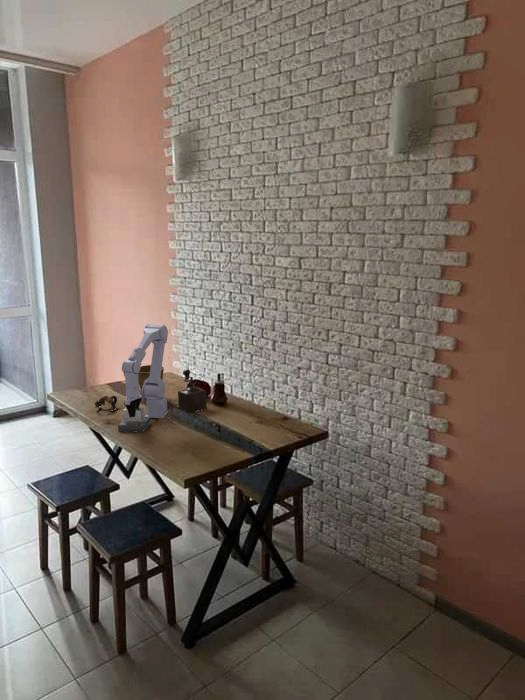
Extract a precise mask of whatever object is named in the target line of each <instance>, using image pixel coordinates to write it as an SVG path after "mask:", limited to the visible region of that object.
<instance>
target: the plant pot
mask: <svg viewBox="0 0 525 700" xmlns="http://www.w3.org/2000/svg"><path fill="white" fill-rule="evenodd" d="M150 369H151V364H147V365H141V368H140V371H139V372H138V381H139V390H140V393H142V387H143V385H144V381H145V380H146V379H148V378H149V376H150ZM164 372H165V371H164V367H163V366H162V369H161V376H160V379H161V380H162V381H163V378H164ZM152 384H155V383H152ZM155 385H158V384H155ZM144 397H145V396H143V398H144Z"/></svg>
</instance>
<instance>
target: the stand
mask: <svg viewBox="0 0 525 700" xmlns="http://www.w3.org/2000/svg"><path fill="white" fill-rule="evenodd" d="M149 424H150V425H151V418H146V417H144V418H143V419H142V420H124V419H122V421H121V422H119V423H118V425H117V428H118V432H119V431H137V432H136V433H143V432H144V431H145V430H146V429H147V428H148V427H149V426H150V425H149ZM148 425H149V426H148ZM147 426H148V427H147ZM146 427H147V428H146ZM145 428H146V429H145ZM144 429H145V430H144ZM143 430H144V431H143Z"/></svg>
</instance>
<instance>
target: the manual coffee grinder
mask: <svg viewBox="0 0 525 700" xmlns="http://www.w3.org/2000/svg"><path fill="white" fill-rule="evenodd" d="M182 374H183V376H184V379H183V382H184V383H186V382H187V383H190V386H188V387H187V388H184V389H181V390H178V391H177V398H178V409H179V410H181V409H182V410H181V411H184V410H185V411H184V412H187V411H188V412H187V413H190V412H191V414H192V412H193V413H196V412H195V411H197V410H200V411H202V410H201V409H203V410H205V409H204V408H206V409H208V406H207V405H208V404H207V390H206V389H203V388H201V387H199V386H198V384H196V386H195V385H194V384H193V382H194V378H193V376H190V375H191V370H190V369H184V370H183V371H182ZM197 412H198V411H197Z"/></svg>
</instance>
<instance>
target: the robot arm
mask: <svg viewBox="0 0 525 700" xmlns="http://www.w3.org/2000/svg"><path fill="white" fill-rule="evenodd" d="M168 335H169V331H168V328H167V326H166V325H165V324H164V325H160V324H146V325H145V327H144V329H143V336H142V339H141V341H140V343H139V345H138V346H137V347H135V348H133V350H132V352H131V354H130V355H129V356H128V358H127V359H126V360H125V361H123V362H122V365H121V372H122V373H123V376H124V378H125V379H124V381H125V400H124V402H123V405H124V406H125V408H127V410H128V413H129V416H130V417H135V409H136V408H140V405H141V402H142V400H143V398H142V397H144V396H145V398H144V399H145V401H146V413H145V415H144V417H147V418H150V419H151V418H153V419H164V418H165V417H166V416H167V414H169V412H168V401H167V398H166V397H164V396H165V395H166V394H165V393H166V388H165V387H166V386H165V385H166V383H165V381H163V379H162V380H161V379H160V376H161V369H162V367H163V360H164V352H165V346H166V343H167V342H168ZM151 344H153V348H152V349H153V350H152V354H151V355H152V356H151V363H150V365H151V369H150V376H149V378H148V379H146V380H145V381H144V385H143V387H142V392H141V390H140V386H139V381H138V372H139V371H140V368H141V366H142V361H143V360H144V358H145V357H146V355H147V352H146V350H147V349H148V348H149V346H150V345H151ZM152 383H155V384H158V385H155V384H152Z"/></svg>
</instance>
